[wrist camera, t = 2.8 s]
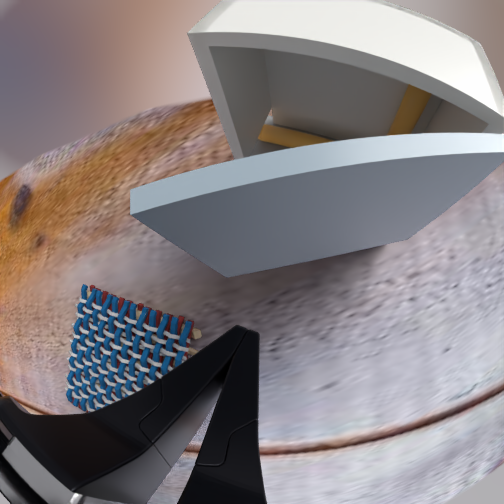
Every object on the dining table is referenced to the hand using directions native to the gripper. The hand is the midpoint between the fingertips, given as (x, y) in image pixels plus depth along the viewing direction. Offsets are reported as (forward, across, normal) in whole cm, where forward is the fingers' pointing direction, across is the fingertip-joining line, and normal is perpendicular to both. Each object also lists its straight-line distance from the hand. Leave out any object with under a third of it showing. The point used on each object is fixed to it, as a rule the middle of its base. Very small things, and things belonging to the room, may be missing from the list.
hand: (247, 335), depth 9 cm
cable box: (+13, -1, -2) cm, 13 cm away
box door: (+6, -2, 0) cm, 7 cm away
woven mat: (+1, +8, +11) cm, 14 cm away
